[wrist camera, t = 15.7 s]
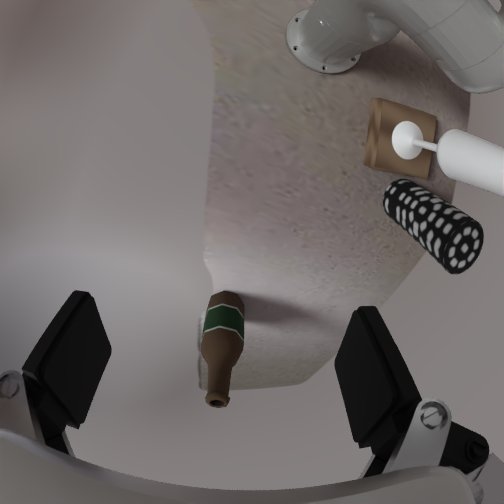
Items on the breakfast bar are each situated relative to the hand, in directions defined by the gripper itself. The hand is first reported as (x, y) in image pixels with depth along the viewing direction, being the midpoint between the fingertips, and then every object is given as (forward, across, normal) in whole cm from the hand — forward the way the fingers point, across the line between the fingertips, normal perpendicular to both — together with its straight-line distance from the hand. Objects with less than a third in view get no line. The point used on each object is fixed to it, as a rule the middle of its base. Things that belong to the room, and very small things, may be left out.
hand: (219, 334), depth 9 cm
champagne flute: (+34, -27, -7) cm, 44 cm away
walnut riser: (+38, -27, -7) cm, 47 cm away
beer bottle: (+38, +2, +30) cm, 49 cm away
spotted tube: (+38, -30, +4) cm, 49 cm away
